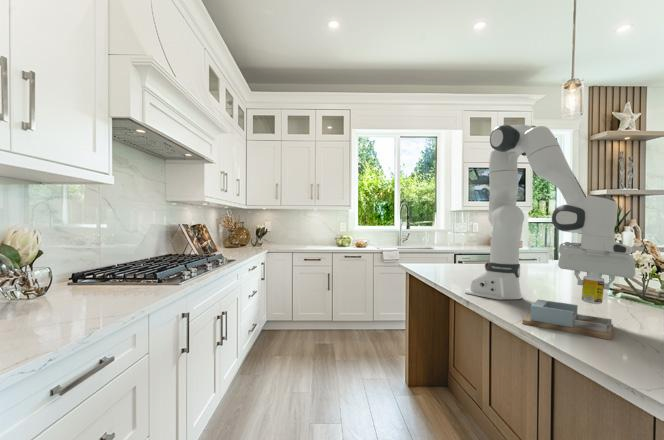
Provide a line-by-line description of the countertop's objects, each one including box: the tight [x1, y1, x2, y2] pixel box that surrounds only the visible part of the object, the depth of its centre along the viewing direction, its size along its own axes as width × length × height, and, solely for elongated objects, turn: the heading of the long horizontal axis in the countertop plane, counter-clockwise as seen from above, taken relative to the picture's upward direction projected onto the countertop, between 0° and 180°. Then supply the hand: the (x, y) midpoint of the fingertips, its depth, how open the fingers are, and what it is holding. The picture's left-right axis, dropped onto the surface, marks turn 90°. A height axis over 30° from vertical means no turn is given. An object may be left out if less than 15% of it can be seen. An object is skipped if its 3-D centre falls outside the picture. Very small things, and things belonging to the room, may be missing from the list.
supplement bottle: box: [581, 272, 605, 305], centre depth 117 cm, size 6×6×10 cm
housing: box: [530, 299, 579, 327], centre depth 113 cm, size 11×12×4 cm
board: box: [522, 312, 614, 341], centre depth 111 cm, size 22×14×3 cm, turn 50°
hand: (593, 287), depth 117 cm, fingers closed on supplement bottle, 5 cm apart
